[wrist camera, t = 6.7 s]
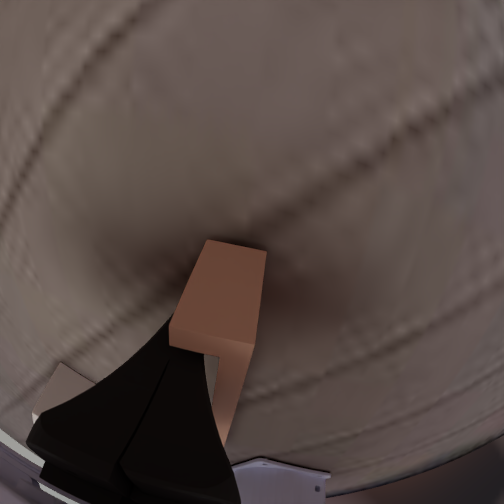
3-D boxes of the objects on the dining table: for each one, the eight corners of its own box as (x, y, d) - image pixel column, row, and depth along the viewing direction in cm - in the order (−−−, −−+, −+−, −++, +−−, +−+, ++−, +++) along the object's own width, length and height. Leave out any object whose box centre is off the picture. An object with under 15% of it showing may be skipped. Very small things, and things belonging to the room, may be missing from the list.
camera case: (200, 434, 21) (186, 496, 16) (159, 453, 26) (147, 498, 21) (60, 361, 19) (27, 420, 14) (54, 399, 23) (33, 442, 18)
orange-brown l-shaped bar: (220, 445, 21) (212, 491, 18) (192, 438, 21) (181, 484, 18) (272, 252, 11) (262, 345, 7) (206, 239, 11) (168, 325, 7)
